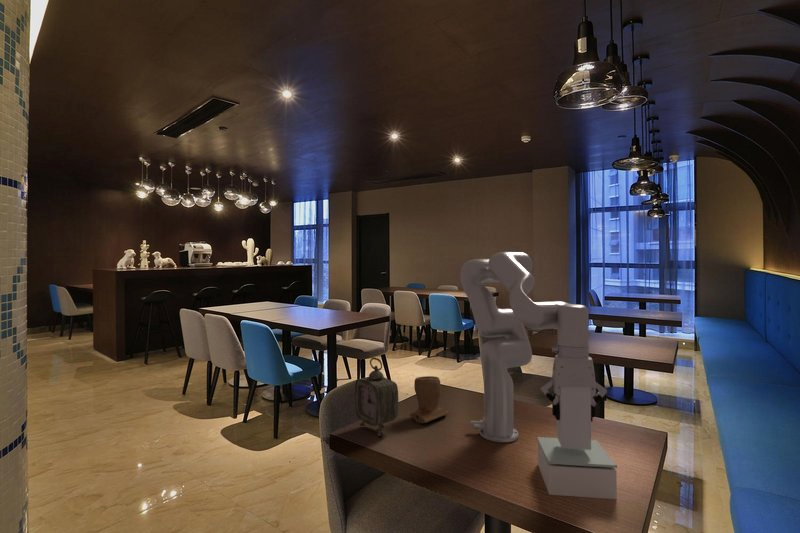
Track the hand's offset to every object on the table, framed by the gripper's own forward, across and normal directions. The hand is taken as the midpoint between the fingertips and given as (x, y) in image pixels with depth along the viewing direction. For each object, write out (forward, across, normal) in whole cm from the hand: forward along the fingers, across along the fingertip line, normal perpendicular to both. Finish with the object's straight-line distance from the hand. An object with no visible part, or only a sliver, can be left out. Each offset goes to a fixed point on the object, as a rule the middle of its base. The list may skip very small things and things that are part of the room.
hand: (573, 418), depth 109 cm
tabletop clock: (+17, -58, +26) cm, 66 cm away
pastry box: (+16, 0, 0) cm, 16 cm away
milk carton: (+7, 0, 0) cm, 7 cm away
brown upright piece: (+17, -42, +40) cm, 60 cm away
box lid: (+9, 0, 0) cm, 9 cm away
